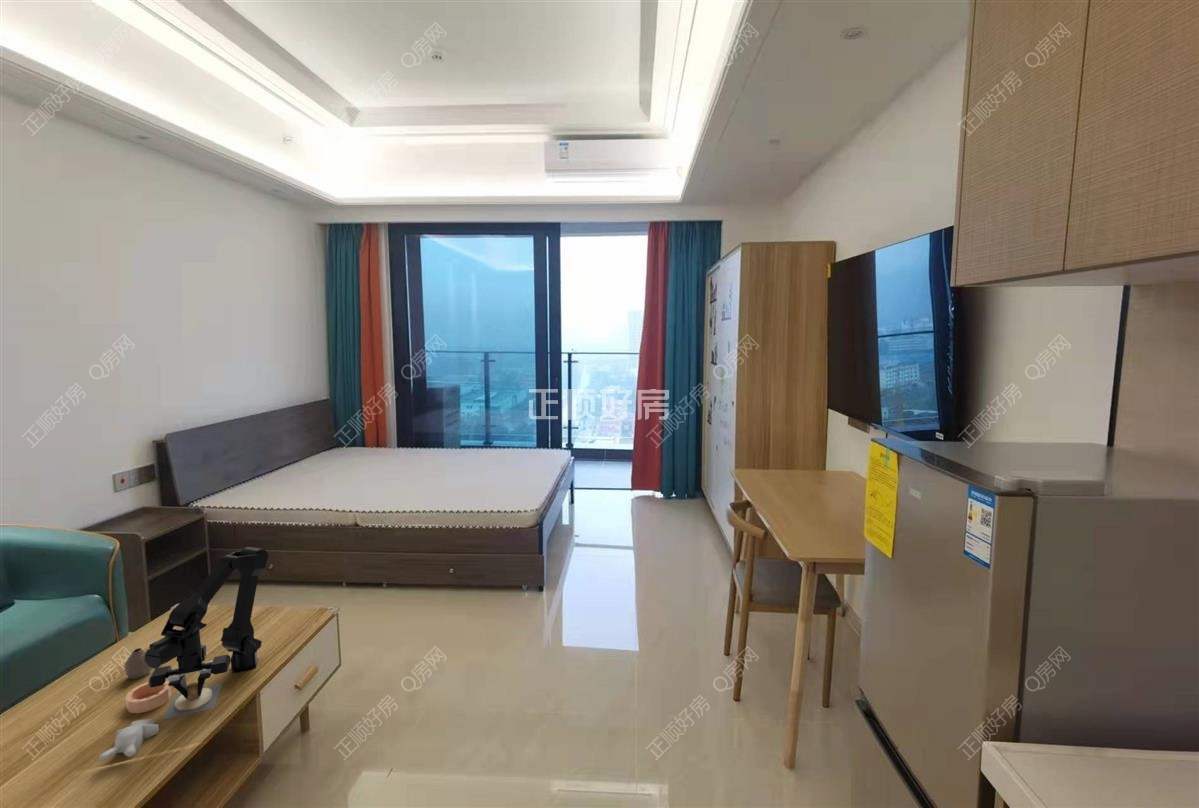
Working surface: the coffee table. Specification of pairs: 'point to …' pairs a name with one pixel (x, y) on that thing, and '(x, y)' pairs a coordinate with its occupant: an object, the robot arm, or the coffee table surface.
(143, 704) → the bowl
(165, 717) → the mat
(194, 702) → the lid
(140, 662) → the vase
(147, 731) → the grey toy figurine
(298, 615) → the coffee table surface
